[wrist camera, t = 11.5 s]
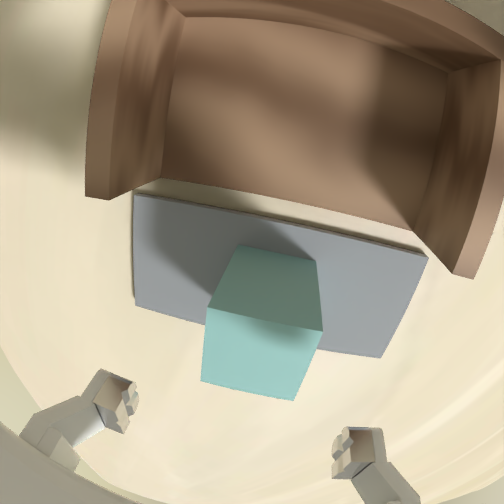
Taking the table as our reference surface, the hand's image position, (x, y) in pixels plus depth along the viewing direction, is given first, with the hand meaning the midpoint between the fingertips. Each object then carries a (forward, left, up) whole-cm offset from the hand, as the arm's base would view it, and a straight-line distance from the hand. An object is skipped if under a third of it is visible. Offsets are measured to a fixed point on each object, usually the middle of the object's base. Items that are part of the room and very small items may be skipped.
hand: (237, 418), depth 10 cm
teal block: (0, 0, -11) cm, 11 cm away
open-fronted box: (-12, 0, -11) cm, 16 cm away
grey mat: (0, 0, -11) cm, 11 cm away
